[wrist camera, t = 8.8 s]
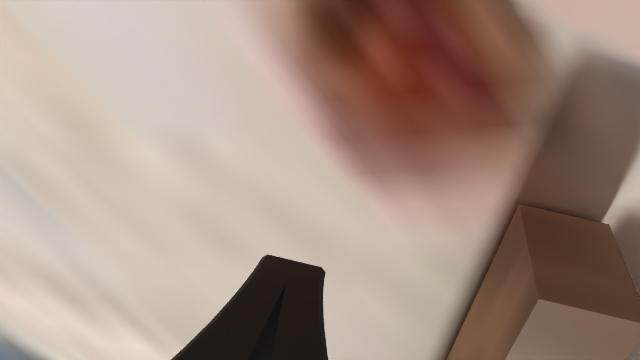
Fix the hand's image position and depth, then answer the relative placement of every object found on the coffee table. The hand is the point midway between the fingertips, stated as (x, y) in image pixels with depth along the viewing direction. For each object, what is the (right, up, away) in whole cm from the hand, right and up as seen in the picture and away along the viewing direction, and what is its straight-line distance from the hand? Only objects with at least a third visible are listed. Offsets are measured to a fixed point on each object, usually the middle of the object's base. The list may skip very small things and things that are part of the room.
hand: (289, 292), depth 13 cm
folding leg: (+6, -5, +7) cm, 10 cm away
